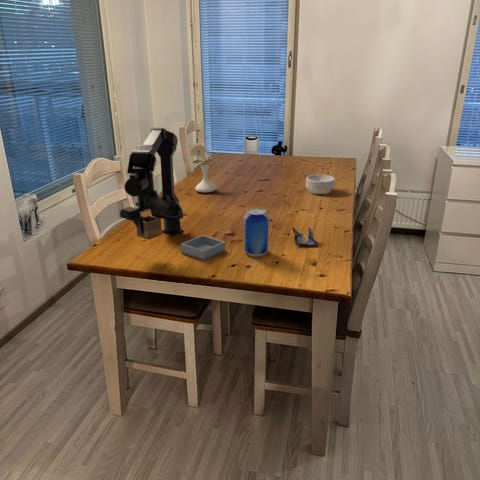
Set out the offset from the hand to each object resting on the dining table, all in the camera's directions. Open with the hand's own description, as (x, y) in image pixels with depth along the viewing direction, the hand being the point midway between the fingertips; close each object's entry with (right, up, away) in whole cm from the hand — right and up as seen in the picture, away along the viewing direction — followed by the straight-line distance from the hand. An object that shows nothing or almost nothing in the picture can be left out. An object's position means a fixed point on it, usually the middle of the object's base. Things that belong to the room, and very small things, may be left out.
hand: (149, 231), depth 151 cm
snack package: (+56, -4, +17) cm, 59 cm away
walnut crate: (0, -1, +1) cm, 1 cm away
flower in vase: (+12, +23, +83) cm, 87 cm away
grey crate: (+18, -7, +8) cm, 21 cm away
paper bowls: (+74, +22, +80) cm, 111 cm away
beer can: (+37, -8, +7) cm, 39 cm away
